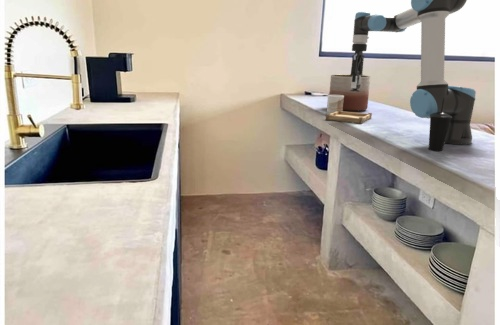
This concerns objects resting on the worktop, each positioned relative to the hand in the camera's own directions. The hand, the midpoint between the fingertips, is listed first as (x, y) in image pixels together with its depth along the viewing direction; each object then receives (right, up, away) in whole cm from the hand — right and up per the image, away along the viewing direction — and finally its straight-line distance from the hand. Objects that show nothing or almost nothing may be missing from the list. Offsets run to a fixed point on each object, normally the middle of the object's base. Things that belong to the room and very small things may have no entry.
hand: (355, 87), depth 203 cm
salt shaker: (0, -2, +1) cm, 2 cm away
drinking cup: (+15, -37, -58) cm, 70 cm away
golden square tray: (-2, -17, +7) cm, 18 cm away
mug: (-5, -11, +28) cm, 30 cm away
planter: (+7, -6, +44) cm, 45 cm away
